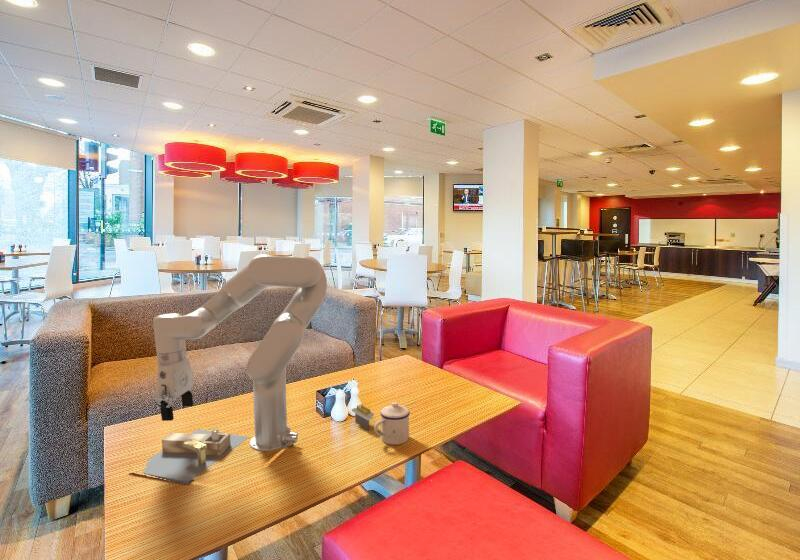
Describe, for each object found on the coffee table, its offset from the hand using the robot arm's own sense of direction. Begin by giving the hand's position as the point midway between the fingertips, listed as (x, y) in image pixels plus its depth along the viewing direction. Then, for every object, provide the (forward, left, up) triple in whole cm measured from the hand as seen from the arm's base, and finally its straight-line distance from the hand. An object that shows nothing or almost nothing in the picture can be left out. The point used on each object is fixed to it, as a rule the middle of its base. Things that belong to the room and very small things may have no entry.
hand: (178, 412), depth 122 cm
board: (-6, +1, -12) cm, 13 cm away
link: (-5, -1, -11) cm, 12 cm away
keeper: (-10, +5, -11) cm, 15 cm away
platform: (-47, -31, -12) cm, 57 cm away
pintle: (-11, -2, -12) cm, 16 cm away
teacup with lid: (-58, -24, -12) cm, 64 cm away
